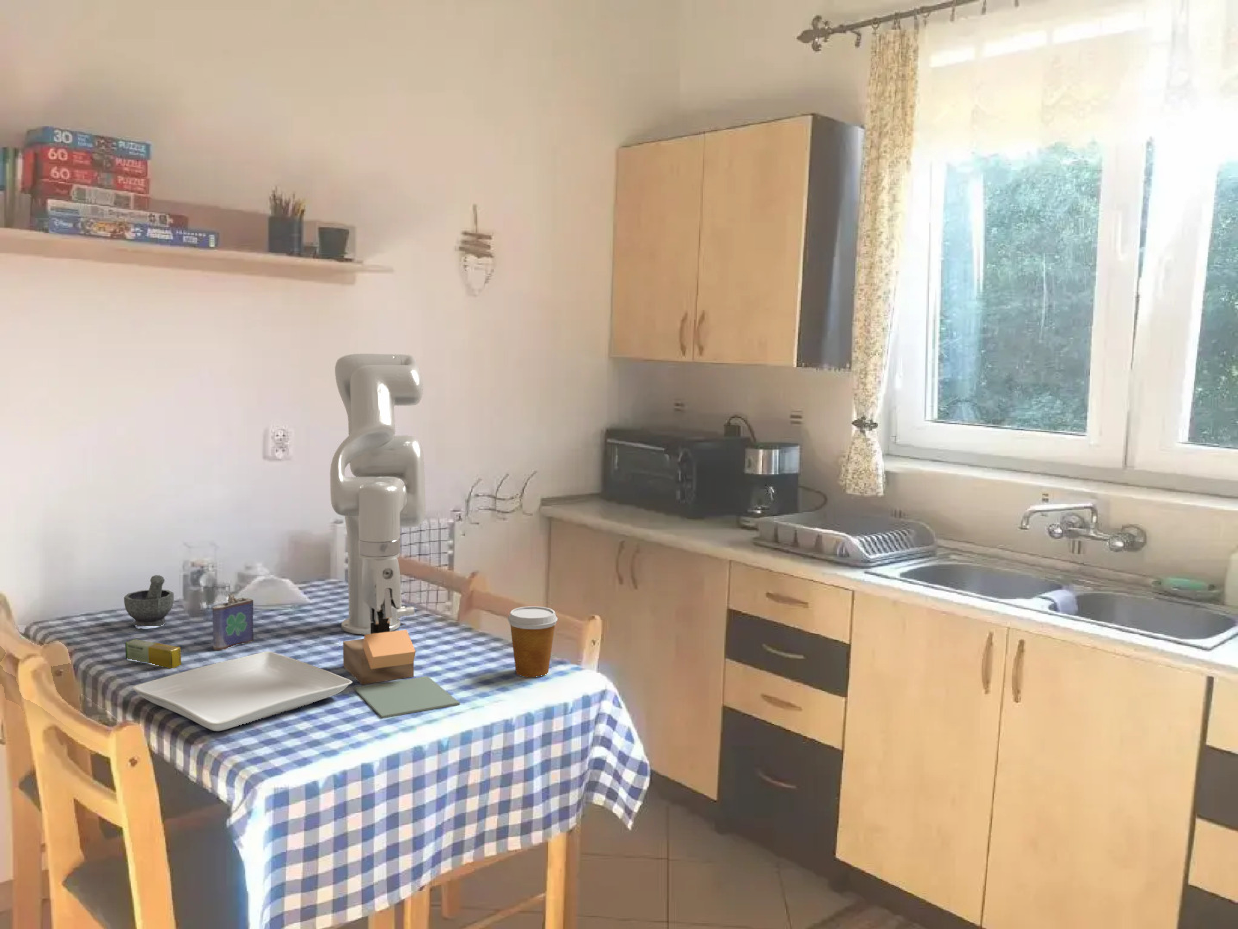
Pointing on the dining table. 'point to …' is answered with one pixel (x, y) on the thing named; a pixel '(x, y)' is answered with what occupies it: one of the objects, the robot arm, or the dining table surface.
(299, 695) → the square plate
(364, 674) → the walnut block
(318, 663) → the dining table surface
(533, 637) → the disposable coffee cup
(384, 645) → the orange block
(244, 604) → the flask
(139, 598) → the mortar and pestle
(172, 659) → the medication box
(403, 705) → the rubber mat
